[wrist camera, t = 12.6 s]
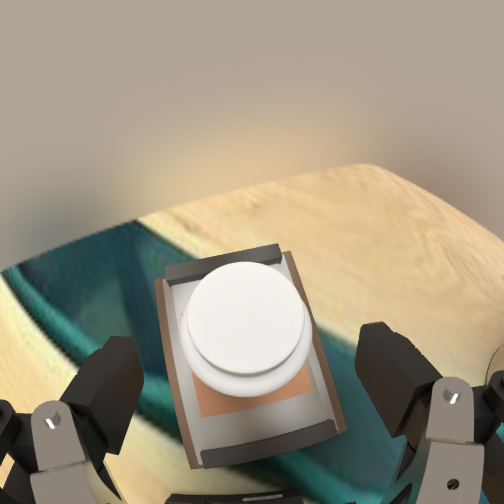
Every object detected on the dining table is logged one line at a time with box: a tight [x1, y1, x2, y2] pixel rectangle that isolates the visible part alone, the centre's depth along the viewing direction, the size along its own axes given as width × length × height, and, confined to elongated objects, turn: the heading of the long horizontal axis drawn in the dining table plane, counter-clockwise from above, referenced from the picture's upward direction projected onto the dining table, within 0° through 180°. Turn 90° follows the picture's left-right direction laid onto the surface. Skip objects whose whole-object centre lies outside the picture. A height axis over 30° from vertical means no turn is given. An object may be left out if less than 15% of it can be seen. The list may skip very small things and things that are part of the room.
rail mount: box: [155, 243, 348, 469], centre depth 19 cm, size 12×16×4 cm
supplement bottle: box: [179, 262, 312, 397], centre depth 13 cm, size 6×6×10 cm
